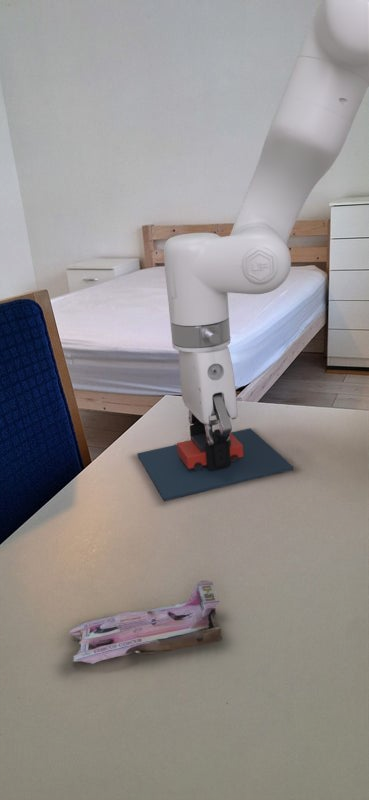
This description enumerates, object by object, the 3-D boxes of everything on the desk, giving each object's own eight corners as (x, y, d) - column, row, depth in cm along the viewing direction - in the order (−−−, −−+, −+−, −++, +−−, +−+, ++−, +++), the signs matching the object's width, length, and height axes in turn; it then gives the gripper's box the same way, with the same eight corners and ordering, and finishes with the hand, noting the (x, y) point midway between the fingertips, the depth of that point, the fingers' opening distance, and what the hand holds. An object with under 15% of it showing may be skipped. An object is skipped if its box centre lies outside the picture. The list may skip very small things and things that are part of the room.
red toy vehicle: (243, 460, 82) (230, 446, 87) (242, 439, 81) (229, 426, 85) (188, 473, 80) (178, 458, 85) (186, 452, 79) (176, 437, 84)
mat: (250, 431, 92) (250, 428, 92) (293, 469, 80) (292, 466, 79) (137, 456, 88) (137, 453, 87) (163, 501, 75) (163, 497, 75)
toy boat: (70, 677, 50) (62, 640, 48) (73, 630, 55) (66, 594, 53) (225, 651, 51) (222, 613, 50) (214, 606, 56) (210, 571, 55)
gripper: (254, 344, 70) (261, 479, 77) (205, 315, 85) (214, 430, 92) (194, 355, 68) (206, 492, 75) (155, 323, 84) (167, 440, 90)
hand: (210, 457), depth 83 cm, fingers open, 5 cm apart
